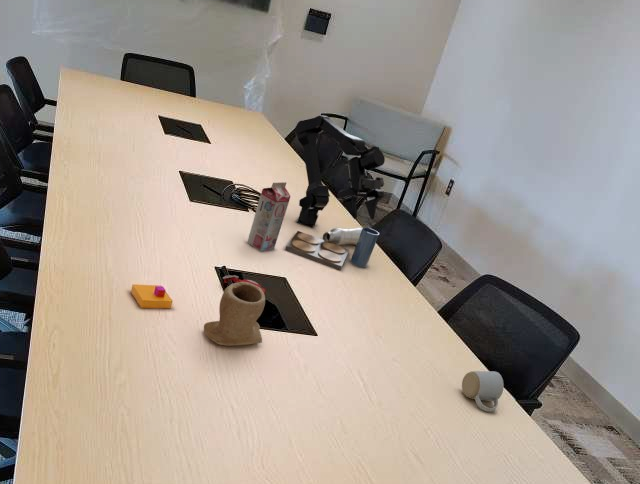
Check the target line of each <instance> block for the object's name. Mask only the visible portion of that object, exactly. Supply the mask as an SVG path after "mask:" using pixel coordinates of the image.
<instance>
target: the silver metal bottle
mask: <svg viewBox="0 0 640 484" xmlns="http://www.w3.org/2000/svg"><path fill="white" fill-rule="evenodd" d="M362 229H363V227H362V228H361V227H353V228H348V229H345V228H340V227H335V228H332V229H331V230H329V231H325V232H324V233H323V234H322V240H324V241H325V242H330V243H333V244H336V245H339V246H342V245H354V246H356V244H357V242H358V239H359V236H360V234H361V231H362Z"/></svg>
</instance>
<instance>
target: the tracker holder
mask: <svg viewBox="0 0 640 484" xmlns="http://www.w3.org/2000/svg"><path fill="white" fill-rule="evenodd" d="M239 278H240V277H239V276H238V275H235V274H234V275H230V274H228V275H224V276H223V277H222V280H223V282H224V284H225V283H227V281H228V282H232V281H233V282H234V283H238V282H248V283H251V284H254V285H256V286H258V287H259V288H260V289H261V290H262V291H263V292H264V294H265V293H266V289H265V288H263V287H262V286H261V285H260V284H259V283H257V281H254V280H251V279H247V278H246V279H239ZM229 285H231V284H230V283H229ZM226 286H227V287H228V285H226Z"/></svg>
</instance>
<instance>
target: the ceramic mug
mask: <svg viewBox="0 0 640 484" xmlns="http://www.w3.org/2000/svg"><path fill="white" fill-rule="evenodd" d="M504 385H505V384H504V379H503V377H502V375H501V374H500V372H498V371H495V370H493V371H491V370H490V371H489V370H474V371H469V372H467V373H466V374H465V375H464V376H463V378H462V381H461V390H462V393H463V395H464V396H465V397H466V398H469V399H471V400H475V403H476V405H477V407H478V408H479V409H481V410H482V411H484V412H489V413H490V412H491V413H492V412H493V411H494V410H496V409H497V407H498V406H499V399H500V398H501V397H502V395H503V393H504V387H505V386H504ZM482 401H487V402H493V407H488V406H486V405H484V404H483V402H482Z"/></svg>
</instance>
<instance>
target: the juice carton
mask: <svg viewBox="0 0 640 484" xmlns="http://www.w3.org/2000/svg"><path fill="white" fill-rule="evenodd" d="M286 187H287V182H284V181H283V182H273V183H272V185H271V187H264V188H262V189H261V193H260V196H259V199H258V203H257V207H256V209H255V214H254V216H253V220H252V225H251V228H250V230H249V234H248V237H247V241H246V243H247V244H249V245H250V246H252V247H254V249H256V250H258V251H259V252H266V251H267V252H268V251H274V250H275V248H276V244H277V241H278V238H279V236H280V235H279V234H280V232H281V229H282V226H283V222H284V220H285V216H286V212H287V210H288V206H289V203H290V200H291V197H292V196H291V193H290V192H289V191H288V189H287V188H286Z"/></svg>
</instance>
